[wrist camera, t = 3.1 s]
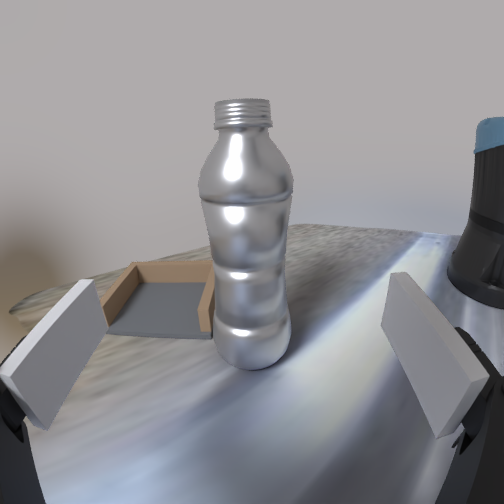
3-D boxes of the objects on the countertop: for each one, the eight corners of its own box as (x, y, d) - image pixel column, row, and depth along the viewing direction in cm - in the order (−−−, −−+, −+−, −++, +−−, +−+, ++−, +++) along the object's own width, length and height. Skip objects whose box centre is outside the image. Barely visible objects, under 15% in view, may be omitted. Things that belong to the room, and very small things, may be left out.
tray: (224, 279, 38) (222, 258, 37) (211, 339, 27) (207, 312, 26) (137, 280, 39) (133, 260, 38) (100, 333, 28) (92, 309, 27)
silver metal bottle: (202, 369, 23) (170, 104, 16) (235, 325, 29) (220, 108, 22) (277, 388, 21) (274, 92, 14) (298, 336, 27) (302, 104, 19)
